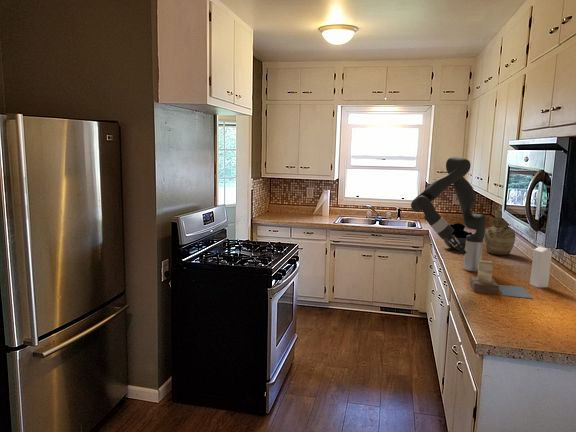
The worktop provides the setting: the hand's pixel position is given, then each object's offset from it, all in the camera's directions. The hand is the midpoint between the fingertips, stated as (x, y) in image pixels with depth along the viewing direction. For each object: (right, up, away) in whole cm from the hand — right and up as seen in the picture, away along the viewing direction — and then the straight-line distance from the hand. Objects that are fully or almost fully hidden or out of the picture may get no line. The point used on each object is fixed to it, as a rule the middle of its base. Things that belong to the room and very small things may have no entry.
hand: (463, 252), depth 223 cm
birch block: (+10, -15, -1) cm, 18 cm away
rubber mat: (+23, -20, -3) cm, 31 cm away
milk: (+43, -19, +9) cm, 48 cm away
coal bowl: (+32, -6, +92) cm, 98 cm away
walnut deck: (+10, -19, 0) cm, 21 cm away
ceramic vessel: (+57, -8, +84) cm, 102 cm away
